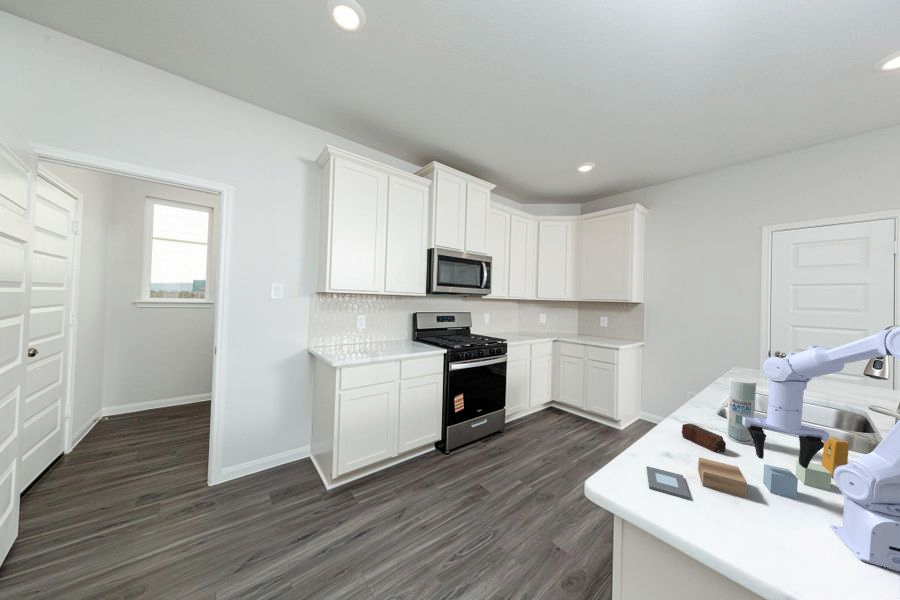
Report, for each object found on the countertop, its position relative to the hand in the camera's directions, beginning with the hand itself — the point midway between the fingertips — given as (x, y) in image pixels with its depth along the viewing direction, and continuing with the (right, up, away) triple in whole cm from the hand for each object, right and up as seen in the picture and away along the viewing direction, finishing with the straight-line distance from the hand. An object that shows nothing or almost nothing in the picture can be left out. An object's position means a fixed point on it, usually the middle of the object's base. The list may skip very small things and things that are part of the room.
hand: (780, 461), depth 76 cm
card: (-26, -7, +2) cm, 27 cm away
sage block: (+12, -8, +4) cm, 15 cm away
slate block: (0, -7, 0) cm, 7 cm away
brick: (-1, -7, +23) cm, 24 cm away
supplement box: (+22, -8, +7) cm, 24 cm away
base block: (-13, -7, +3) cm, 15 cm away
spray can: (+14, -7, +26) cm, 31 cm away
